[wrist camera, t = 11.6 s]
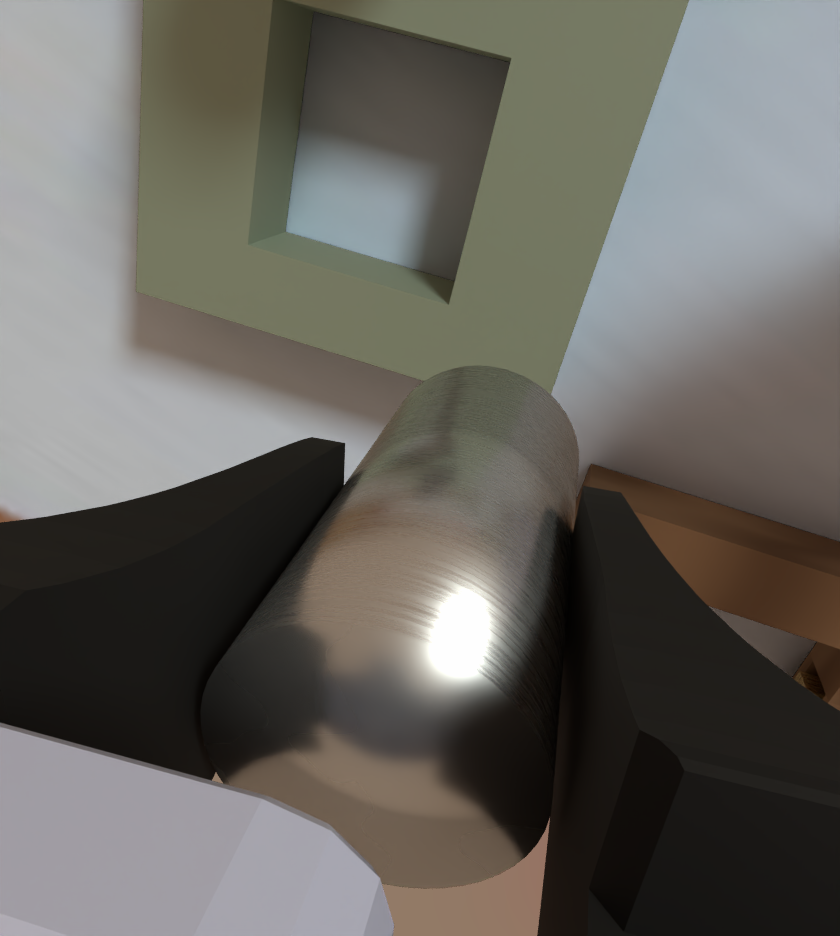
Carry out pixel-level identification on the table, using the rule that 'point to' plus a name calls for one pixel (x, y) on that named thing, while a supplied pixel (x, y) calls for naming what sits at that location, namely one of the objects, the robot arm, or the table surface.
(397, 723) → the steel peg
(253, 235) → the tool rack
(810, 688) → the tan block with bar
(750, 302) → the table surface
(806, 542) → the socket holder
